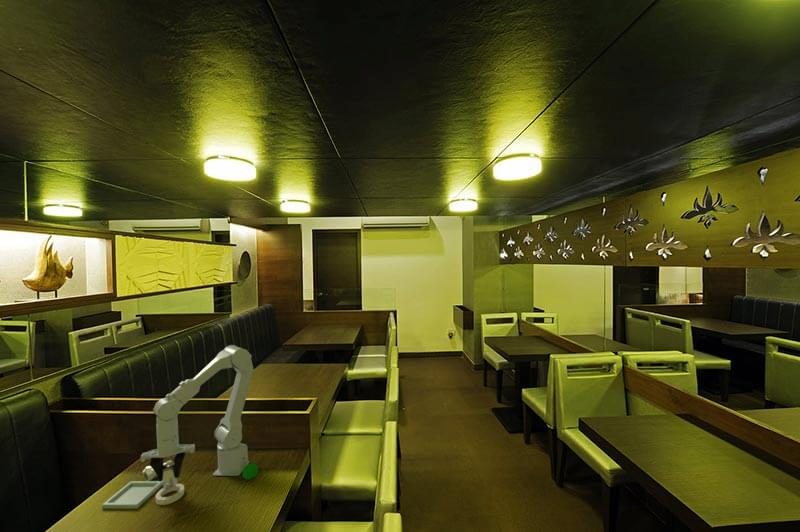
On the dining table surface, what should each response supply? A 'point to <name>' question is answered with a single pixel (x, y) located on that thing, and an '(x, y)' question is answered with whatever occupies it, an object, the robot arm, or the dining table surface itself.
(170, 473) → the metal cylinder
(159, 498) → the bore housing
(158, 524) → the dining table surface
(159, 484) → the tray
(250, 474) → the polyhedron
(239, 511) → the dining table surface
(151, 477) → the pipe fitting
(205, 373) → the robot arm
